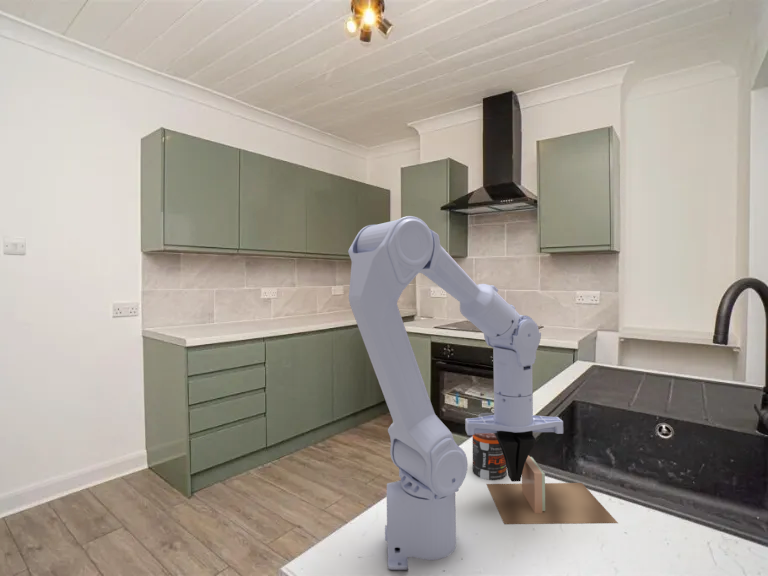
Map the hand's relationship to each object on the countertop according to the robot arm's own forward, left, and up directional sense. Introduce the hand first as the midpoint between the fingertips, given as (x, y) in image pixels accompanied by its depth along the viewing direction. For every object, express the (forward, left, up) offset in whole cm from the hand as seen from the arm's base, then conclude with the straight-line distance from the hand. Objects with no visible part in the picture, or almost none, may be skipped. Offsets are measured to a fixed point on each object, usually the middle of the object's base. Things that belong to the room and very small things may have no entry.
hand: (514, 478), depth 63 cm
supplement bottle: (-2, +10, -5) cm, 11 cm away
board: (+5, 0, -5) cm, 7 cm away
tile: (+3, 0, -4) cm, 5 cm away
